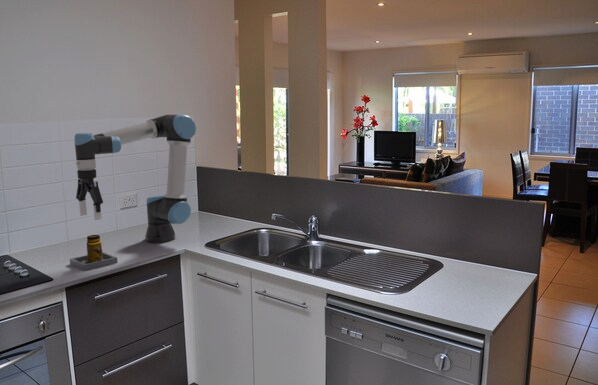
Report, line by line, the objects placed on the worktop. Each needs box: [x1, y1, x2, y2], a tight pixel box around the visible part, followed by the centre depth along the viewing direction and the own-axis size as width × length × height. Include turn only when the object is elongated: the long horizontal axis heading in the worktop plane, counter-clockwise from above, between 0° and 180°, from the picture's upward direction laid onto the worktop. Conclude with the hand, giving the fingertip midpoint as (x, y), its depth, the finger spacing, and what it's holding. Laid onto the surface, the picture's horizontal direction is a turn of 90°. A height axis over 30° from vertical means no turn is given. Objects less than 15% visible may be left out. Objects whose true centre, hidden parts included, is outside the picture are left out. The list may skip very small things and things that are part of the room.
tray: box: [69, 251, 118, 272], centre depth 225 cm, size 15×14×2 cm
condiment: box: [82, 234, 103, 264], centre depth 224 cm, size 7×8×12 cm
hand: (90, 217), depth 222 cm, fingers open, 13 cm apart
